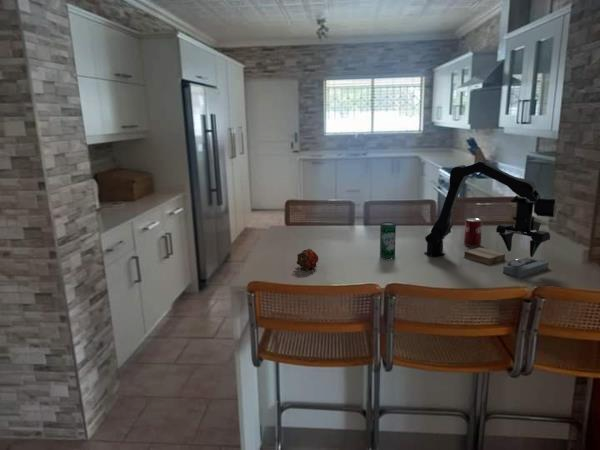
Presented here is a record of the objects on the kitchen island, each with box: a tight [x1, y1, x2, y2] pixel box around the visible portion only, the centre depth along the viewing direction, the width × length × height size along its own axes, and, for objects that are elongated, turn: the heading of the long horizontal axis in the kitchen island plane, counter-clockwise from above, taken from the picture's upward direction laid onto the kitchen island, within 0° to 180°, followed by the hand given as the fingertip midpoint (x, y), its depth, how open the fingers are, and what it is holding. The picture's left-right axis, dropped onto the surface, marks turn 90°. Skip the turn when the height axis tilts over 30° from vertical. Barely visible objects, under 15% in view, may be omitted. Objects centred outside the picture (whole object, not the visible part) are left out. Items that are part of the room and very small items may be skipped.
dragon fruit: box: [296, 248, 319, 270], centre depth 181 cm, size 8×8×12 cm
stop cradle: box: [502, 257, 550, 279], centre depth 171 cm, size 18×7×2 cm, turn 122°
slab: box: [463, 246, 506, 265], centre depth 187 cm, size 10×12×3 cm
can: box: [379, 221, 397, 260], centre depth 190 cm, size 6×6×15 cm
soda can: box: [463, 217, 483, 248], centre depth 205 cm, size 7×7×12 cm
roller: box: [507, 256, 531, 268], centre depth 173 cm, size 9×4×4 cm, turn 121°
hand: (520, 253), depth 172 cm, fingers open, 9 cm apart
